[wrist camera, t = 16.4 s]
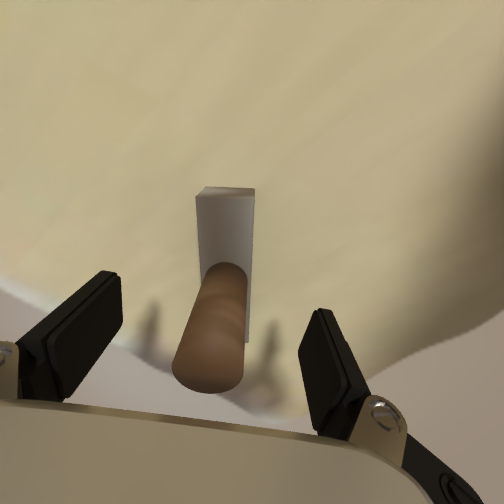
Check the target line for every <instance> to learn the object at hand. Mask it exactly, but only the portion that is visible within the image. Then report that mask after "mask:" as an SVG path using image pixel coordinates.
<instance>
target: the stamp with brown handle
mask: <svg viewBox="0 0 504 504" xmlns="http://www.w3.org/2000/svg"><path fill="white" fill-rule="evenodd" d="M254 203H255V189H253V188H229V187H205V188H204V189H203V190H202V191H201V192H200V193H199V194H198V195H197V196H196V212H197V226H198V241H199V256H200V270H201V287H200V290H199V293H198V295H197V298H196V301H195V303H194V306H193V309H192V312H191V314H190V317H189V320H188V322H187V325H186V328H185V330H184V333H183V336H182V338H181V341H180V344H179V346H178V349H177V352H176V355H175V357H174V360H173V363H172V371H173V374H174V376H175V378H176V379H177V380H178V381H179V382H180V383H181V384H182V385H183V386H185V387H187V388H188V389H191V390H193V391H196V392H200V393H208V394H214V393H222V392H225V391H228V390H230V389H232V388H234V387H235V386H236V385H238V384H239V382H240V381H241V379H242V377H243V368H244V348H245V343H248V341H249V318H250V295H251V272H252V249H253V226H254Z"/></svg>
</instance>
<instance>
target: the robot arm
mask: <svg viewBox="0 0 504 504" xmlns="http://www.w3.org/2000/svg"><path fill="white" fill-rule="evenodd" d="M122 323H123V312H122V293H121V278H120V277H119V276H117V273H115V272H110V271H104V270H102V271H100V272H99V273H98V274H97V275H95V276H94V277H93V278H92V279H91V280H89V281H88V282H87V283H86V284H85V285H83V286H82V287H81V288H80V289H79V290H77V291H76V292H75V293H74V294H73V295H71V296H70V297H69V298H68V299H67V300H66V301H64V302H63V303H62V304H61V305H60V306H58V307H57V308H56V309H55V310H54V311H52V312H51V313H50V314H49V315H48V316H47V317H46V318H44V319H43V320H42V321H41V322H39V323H38V324H37V325H36V326H34V327H33V328H32V329H31V330H30V331H29V332H27V333H26V334H25V335H24V336H23V337H21V338H20V339H19V340H18V341H17V342H15V343H12V342H8V341H0V504H484V503H483V502H482V500H481V499H480V497H479V496H478V494H477V493H476V492H475V491H474V490H473V488H472V487H471V486H470V485H469V484H468V483H467V482H466V481H465V480H463V479H462V478H461V477H460V476H459V475H458V474H456V473H455V472H454V471H453V470H452V469H450V468H449V467H448V466H447V465H445V464H444V463H443V462H442V461H441V460H440V459H438V458H437V457H436V456H435V455H433V454H432V453H431V452H430V451H429V450H427V449H426V448H425V447H424V446H423V445H421V444H420V443H419V442H418V441H417V440H415V439H414V438H413V437H412V436H411V435H409V434H408V433H407V424H406V421H405V419H404V417H403V416H402V414H401V412H400V411H399V410H398V409H397V408H396V407H395V406H394V405H393V404H392V403H391V402H389V401H388V400H386V399H385V398H383V397H380V396H377V395H371V392H370V390H369V388H368V386H367V384H366V382H365V379H364V377H363V375H362V373H361V371H360V369H359V366H358V364H357V362H356V360H355V358H354V356H353V353H352V351H351V349H350V347H349V345H348V343H347V341H345V339H344V336H343V334H342V332H341V330H340V328H339V325H338V323H337V321H336V319H335V317H334V315H333V312H332V311H331V310H328V309H323V308H319V309H318V310H315V311H314V312H313V314H312V317H311V319H310V322H309V324H308V327H307V329H306V332H305V334H304V336H303V339H302V341H301V344H300V346H299V349H298V357H299V362H300V367H301V372H302V377H303V382H304V387H305V392H306V397H307V402H308V407H309V411H310V416H311V421H312V426H313V429H314V430H315V431H317V434H318V436H317V435H310V434H304V433H297V432H291V431H284V430H277V429H269V428H262V427H254V426H247V425H240V424H232V423H225V422H217V421H209V420H201V419H193V418H186V417H178V416H171V415H163V414H155V413H147V412H138V411H131V410H123V409H115V408H106V407H97V406H90V405H81V404H72V403H63V401H64V399H65V398H69V397H70V396H71V395H72V394H73V393H74V391H75V390H76V389H77V387H78V386H79V384H80V383H81V382H82V380H83V379H84V378H85V376H86V375H87V374H88V372H89V370H90V369H91V368H92V366H93V365H94V364H95V362H96V361H97V360H98V358H99V357H100V356H101V354H102V353H103V351H104V350H105V348H106V347H107V346H108V344H109V343H110V342H111V340H112V339H113V338H114V336H115V335H116V333H117V332H118V331H119V329H120V328H121V326H122Z"/></svg>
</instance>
